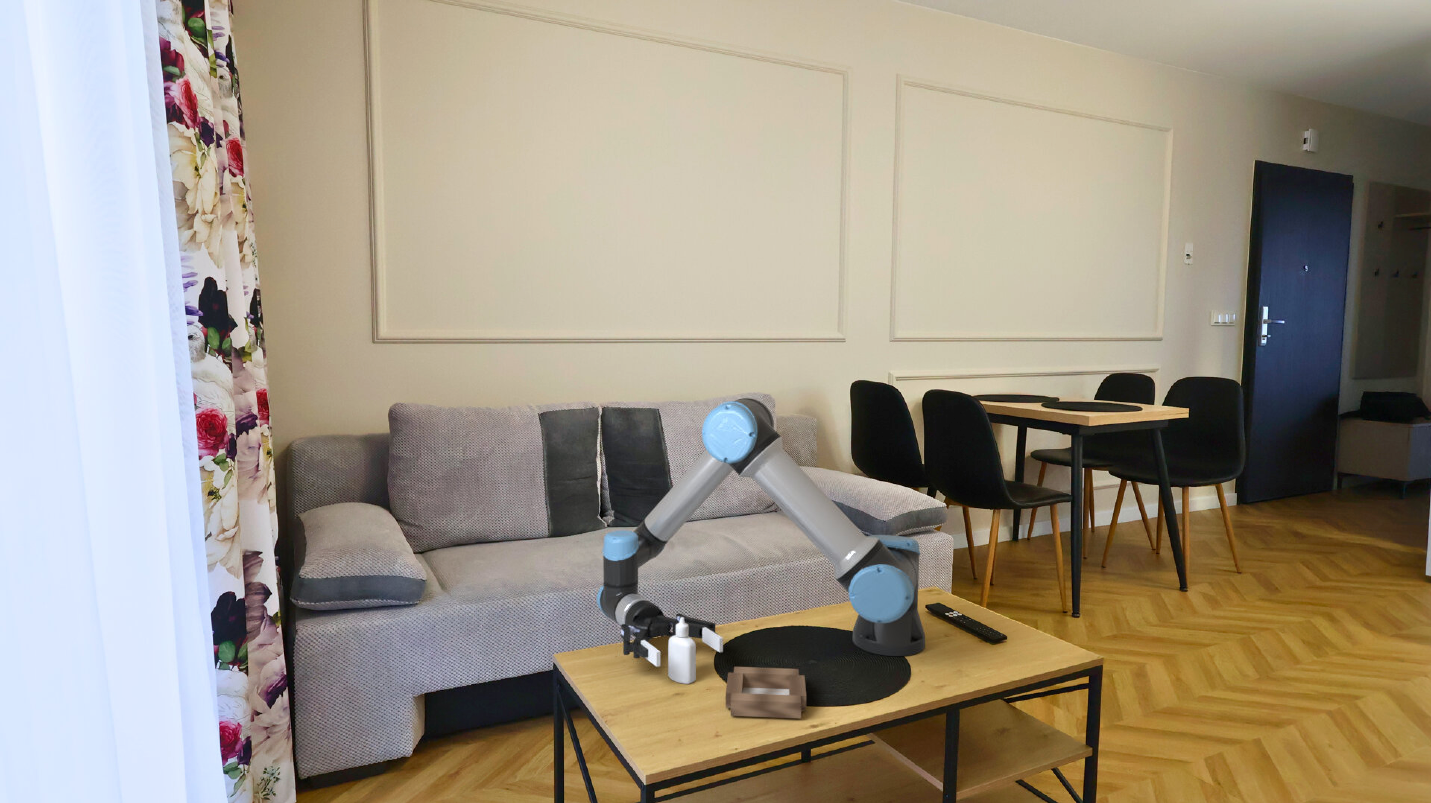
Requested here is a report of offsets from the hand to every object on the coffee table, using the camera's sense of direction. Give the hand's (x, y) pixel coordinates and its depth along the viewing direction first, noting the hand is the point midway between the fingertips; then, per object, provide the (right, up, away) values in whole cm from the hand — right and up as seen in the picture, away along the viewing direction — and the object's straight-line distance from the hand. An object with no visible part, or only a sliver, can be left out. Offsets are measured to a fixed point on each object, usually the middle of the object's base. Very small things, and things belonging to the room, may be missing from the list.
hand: (690, 651), depth 153 cm
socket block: (+14, -7, -6) cm, 16 cm away
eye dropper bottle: (-2, -6, +3) cm, 8 cm away
